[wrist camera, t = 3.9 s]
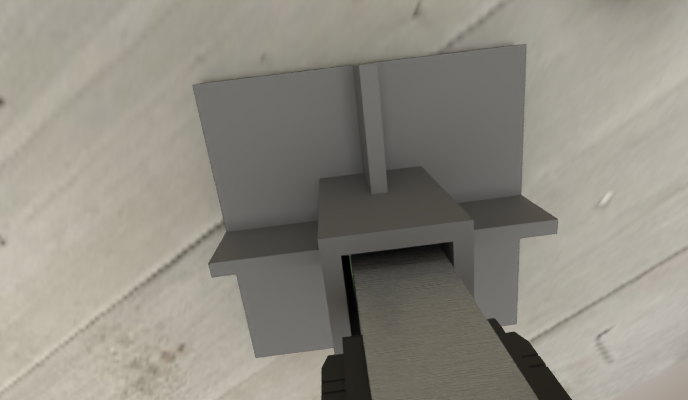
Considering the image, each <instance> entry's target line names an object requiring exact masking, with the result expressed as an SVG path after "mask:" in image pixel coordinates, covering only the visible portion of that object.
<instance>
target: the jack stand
mask: <svg viewBox="0 0 688 400" xmlns="http://www.w3.org/2000/svg"><path fill="white" fill-rule="evenodd" d="M525 69H526V44H523V45H513V46H505V47H496V48H488V49H480V50H472V51H464V52H455V53H447V54H439V55H431V56H423V57H414V58H406V59H398V60H390V61H381V62H373V63H365V64H357V65H349V66H340V67H332V68H324V69H316V70H308V71H299V72H291V73H283V74H275V75H267V76H258V77H250V78H242V79H234V80H226V81H217V82H209V83H201V84H194V85H192V86H193V90H194V94H195V99H196V103H197V107H198V112H199V116H200V120H201V125H202V129H203V133H204V137H205V142H206V146H207V150H208V155H209V159H210V163H211V168H212V172H213V176H214V181H215V185H216V189H217V194H218V198H219V202H220V206H221V211H222V215H223V219H224V224H225V228H226V234H225V236H224V237H223V239H222V241H221V242H220V244H219V246H218V248H217V249H216V251H215V253H214V255H213V256H212V258H211V260H210V262H209V263H208V265H209V268H210V272H211V276H212V277H219V276H227V275H235V274H236V275H237V280H238V284H239V288H240V293H241V297H242V301H243V306H244V310H245V314H246V318H247V323H248V327H249V331H250V336H251V340H252V344H253V349H254V353H255V357H256V358H259V357H267V356H274V355H282V354H290V353H298V352H305V351H313V350H321V349H329V348H334V353H335V355H337V354H343V343H342V337H348V336H356V335H361V333H360V326H359V319H358V312H357V304H356V300H355V297H354V290H353V282H352V274H351V266H350V258H349V255H350V254H358V253H366V252H374V251H382V250H390V249H398V248H406V247H414V246H421V245H429V244H437V243H438V244H439V246H440V247H441V249H442V250H443V252H444V254H445V255H446V257H447V258H448V260H449V261H450V263H451V264H452V266H453V268H454V269H455V271H456V272H457V274H458V275H459V277H460V278H461V280H462V282H463V283H464V285H465V286H466V288H467V289H468V291H469V292H470V294H471V295H472V297H473V299H474V300H475V302H476V303H477V305H478V306H479V308H480V309H481V311H482V313H483V314H484V316H485V317H486V319H490V318H495V319H496V320H497V321H498V323H499V324H500V325H501V326H507V325H515V324H517V301H518V272H519V243H520V238H527V237H535V236H543V235H550V234H557V229H558V219H557V218H555V217H554V216H552V215H551V214H549V213H548V212H546V211H545V210H543V209H542V208H540V207H539V206H537V205H535V204H534V203H532V202H531V201H529V200H528V199H526V198H525V197H523V196H522V195H521V185H522V156H523V127H524V98H525Z"/></svg>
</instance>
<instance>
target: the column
mask: <svg viewBox="0 0 688 400" xmlns="http://www.w3.org/2000/svg"><path fill="white" fill-rule="evenodd" d="M349 258H350V266H351V274H352V282H353V290H354V297H355V300H356V304H357V312H358V319H359V326H360V333H361V335H362V337H363V344H364V351H365V358H366V365H367V372H368V379H369V385H370V392H371V399H372V400H538V398H537V397H536V395H535V393H534V392H533V390H532V389H531V387H530V386H529V384H528V383H527V381H526V379H525V378H524V376H523V375H522V373H521V372H520V370H519V369H518V367H517V365H516V364H515V362H514V361H513V359H512V358H511V356H510V355H509V353H508V351H507V350H506V348H505V347H504V345H503V344H502V342H501V341H500V339H499V337H498V336H497V334H496V333H495V331H494V330H493V328H492V327H491V325H490V323H489V322H488V320H487V319H486V317H485V316H484V314H483V313H482V311H481V309H480V308H479V306H478V305H477V303H476V302H475V300H474V299H473V297H472V295H471V294H470V292H469V291H468V289H467V288H466V286H465V285H464V283H463V282H462V280H461V278H460V277H459V275H458V274H457V272H456V271H455V269H454V268H453V266H452V264H451V263H450V261H449V260H448V258H447V257H446V255H445V254H444V252H443V250H442V249H441V247H440V246H439V244H438V243H437V244H429V245H421V246H414V247H406V248H398V249H390V250H382V251H374V252H366V253H358V254H350V255H349Z"/></svg>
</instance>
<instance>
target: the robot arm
mask: <svg viewBox="0 0 688 400" xmlns="http://www.w3.org/2000/svg"><path fill="white" fill-rule="evenodd" d="M487 320H488V322H489V323H490V325H491V327H492V328H493V330H494V331H495V333H496V334H497V336H498V337H499V339H500V341H501V342H502V344H503V345H504V347H505V348H506V350H507V351H508V353H509V355H510V356H511V358H512V359H513V361H514V362H515V364H516V365H517V367H518V369H519V370H520V372H521V373H522V375H523V376H524V378H525V379H526V381H527V383H528V384H529V386H530V387H531V389H532V390H533V392H534V393H535V395H536V397H537V398H538V400H572V399H571V398H570V396H569V395H568V394H567V392H566V391H565V390H564V388H563V387H562V386H561V384H560V383H559V382H558V380H557V379H556V378H555V376H554V375H553V374H552V372H551V371H550V370H549V368H548V367H546V365H545V363H544V361H543V360H542V359H541V357H540V356H538V353H537V352H536V351H535V349H534V348H533V347H532V345H531V344H530V343H529V341H527V340H526V339H524V338H523V337H521V336H520V335H518V334H517V333H516V332H509V333H505V331H504V330H503V328H502V327H501V325H500V324H499V323H498V321H497V320H496V319H495V318H490V319H487ZM342 343H343V354H337V355H329V356H328V357H327V359H326V361H325V363H324V364H323V366H322V396H321V400H372V399H371V392H370V385H369V379H368V372H367V365H366V358H365V351H364V344H363V337H362V335H356V336H348V337H342Z"/></svg>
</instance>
